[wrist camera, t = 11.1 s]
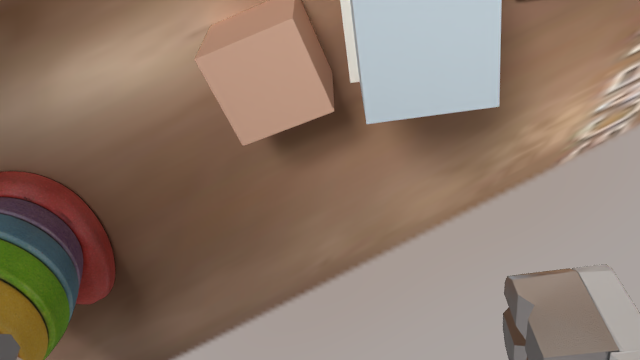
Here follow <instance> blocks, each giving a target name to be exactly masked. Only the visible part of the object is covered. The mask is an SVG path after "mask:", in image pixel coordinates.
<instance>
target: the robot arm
mask: <svg viewBox="0 0 640 360" xmlns="http://www.w3.org/2000/svg"><path fill="white" fill-rule="evenodd" d="M504 295H505V297H506V300H507V303H508V306H509V308H508V309H507V310H506V311H505V312H504V313H503V332H504V340H505V347H506V350H507V355H508V358H509V360H640V312H639V311H638V309H637V308H636V306H635V304H634V303H633V301H632V300H631V298H630V296H629V295H628V293H627V292H626V290H625V289H624V287H623V285H622V284H621V282H620V281H619V279H618V277H617V276H616V274H615V272H614V271H613V269H612V268H611V267H609V266H608V265H607V264H602V265H594V266H586V267H577V268H572V269H560V270H553V271H544V272H536V273H528V274H520V275H512V276H507V278H506V281H505V290H504ZM19 350H20V346H19V345H18V343H17V342H16V341H15V339H14V338H13V336H12V335H11V334H0V360H23V359H21V358H19V357H18V354H19Z"/></svg>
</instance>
